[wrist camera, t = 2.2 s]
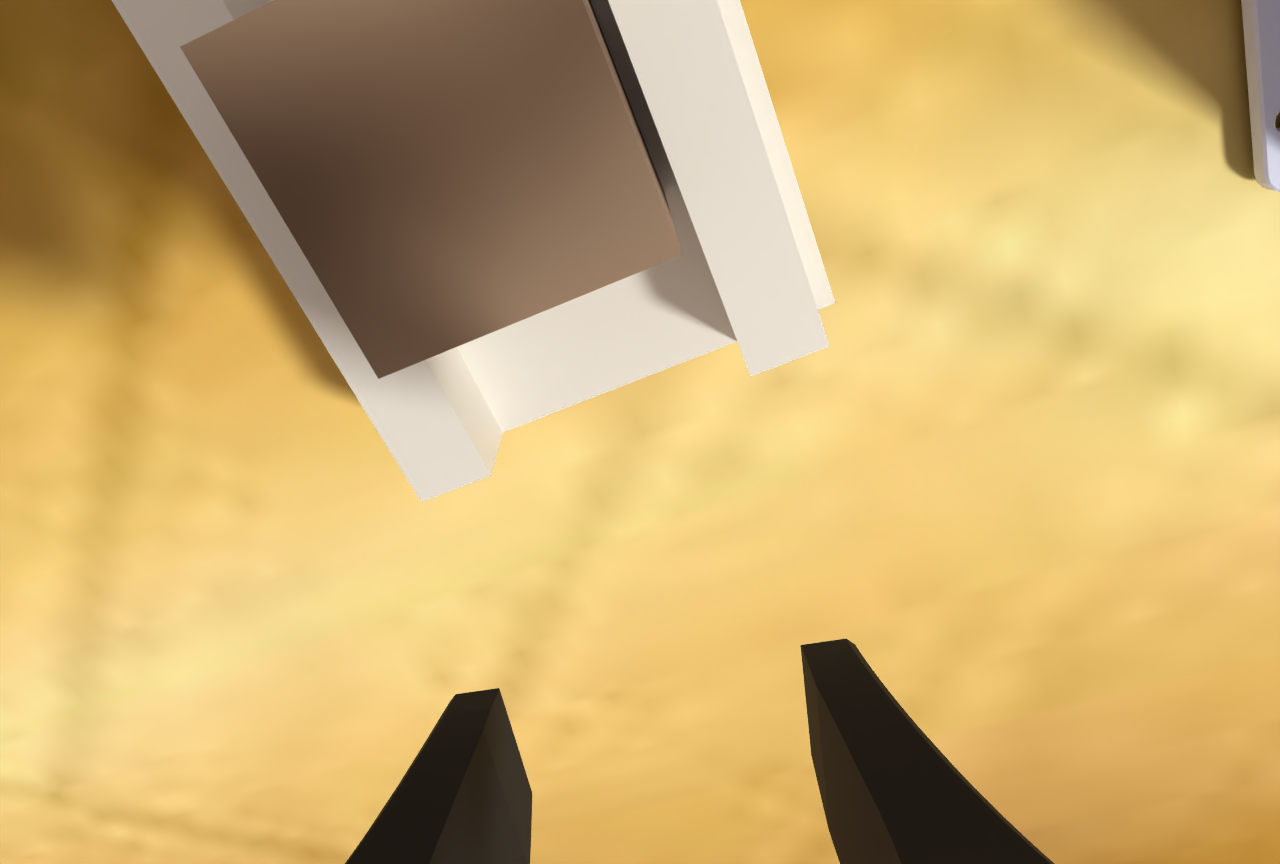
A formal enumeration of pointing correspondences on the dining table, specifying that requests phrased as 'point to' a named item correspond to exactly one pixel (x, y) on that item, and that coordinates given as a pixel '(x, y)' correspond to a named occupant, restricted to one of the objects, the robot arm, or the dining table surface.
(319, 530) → the dining table surface
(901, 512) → the dining table surface
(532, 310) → the walnut block
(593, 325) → the chute
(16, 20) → the dining table surface
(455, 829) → the robot arm
